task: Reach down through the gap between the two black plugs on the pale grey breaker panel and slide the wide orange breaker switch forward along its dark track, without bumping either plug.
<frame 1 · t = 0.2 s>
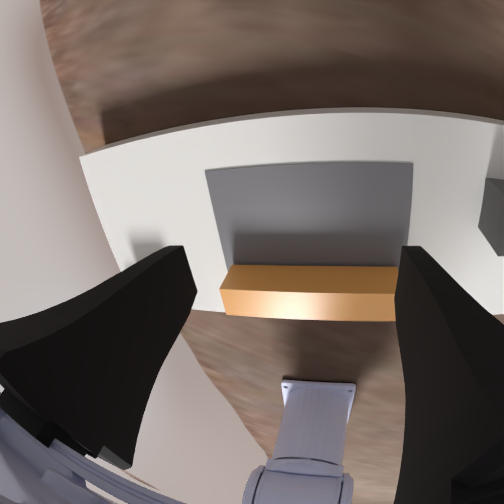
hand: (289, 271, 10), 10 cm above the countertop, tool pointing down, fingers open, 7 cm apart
plug 1: (501, 204, 12), point 3 cm above the countertop, touching breaker panel
breaker switch: (311, 292, 17), point 5 cm above the countertop, slide at 0.0 cm
breaker panel: (315, 210, 19), on the countertop
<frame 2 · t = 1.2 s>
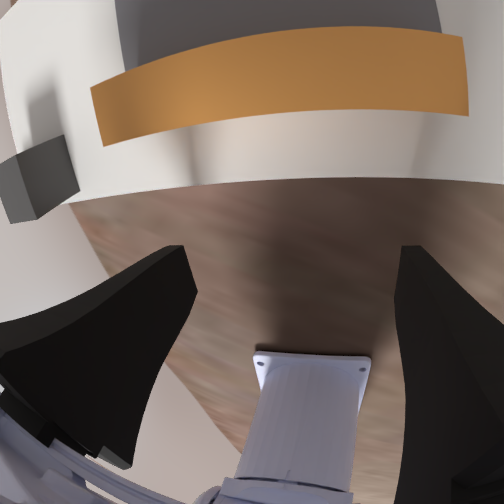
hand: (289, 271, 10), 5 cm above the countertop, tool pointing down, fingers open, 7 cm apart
breaker switch: (267, 75, 7), point 5 cm above the countertop, slide at 0.0 cm
breaker panel: (279, 13, 9), on the countertop
plug 2: (55, 168, 12), point 3 cm above the countertop, touching breaker panel
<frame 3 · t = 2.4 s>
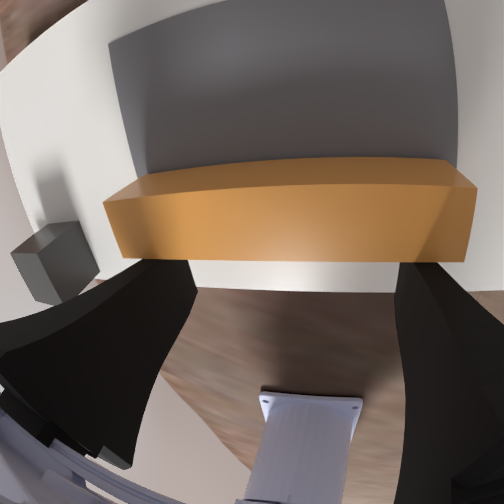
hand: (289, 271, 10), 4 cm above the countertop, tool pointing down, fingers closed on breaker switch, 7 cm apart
breaker switch: (279, 205, 8), point 5 cm above the countertop, slide at 0.7 cm, touching gripper
breaker panel: (291, 107, 11), on the countertop
plug 2: (72, 247, 14), point 3 cm above the countertop, touching breaker panel
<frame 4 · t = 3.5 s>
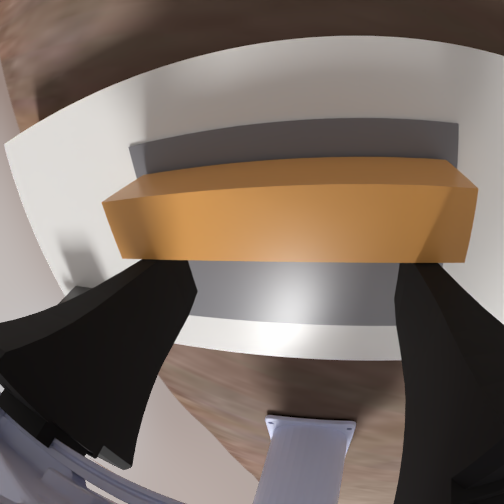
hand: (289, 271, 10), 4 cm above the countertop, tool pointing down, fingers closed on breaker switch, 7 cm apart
breaker switch: (279, 206, 8), point 4 cm above the countertop, slide at 4.9 cm, touching gripper
breaker panel: (302, 204, 13), on the countertop
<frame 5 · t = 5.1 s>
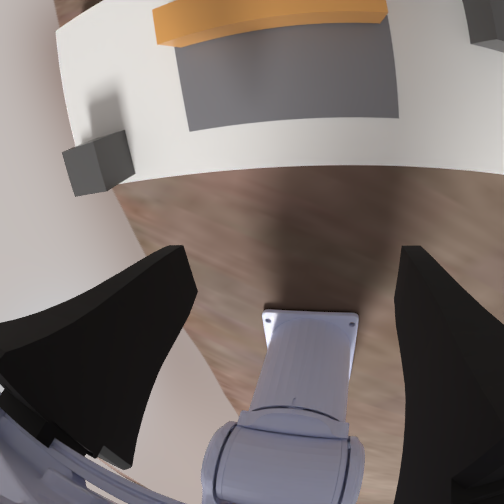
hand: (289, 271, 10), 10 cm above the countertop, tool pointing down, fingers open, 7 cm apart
plug 1: (489, 24, 7), point 3 cm above the countertop, touching breaker panel
breaker switch: (266, 4, 10), point 5 cm above the countertop, slide at 4.9 cm
breaker panel: (287, 50, 14), on the countertop
plug 2: (113, 155, 17), point 3 cm above the countertop, touching breaker panel
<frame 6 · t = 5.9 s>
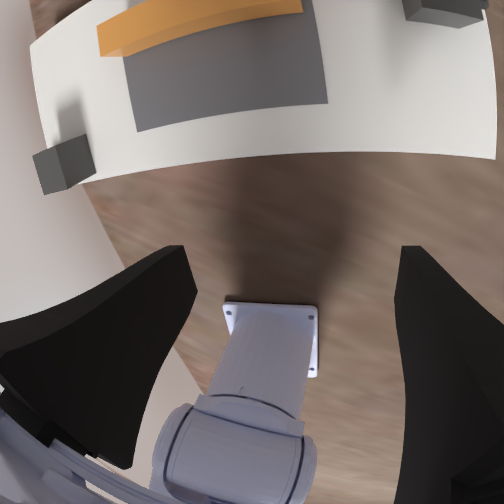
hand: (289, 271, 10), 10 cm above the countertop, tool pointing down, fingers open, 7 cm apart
breaker switch: (192, 9, 10), point 4 cm above the countertop, slide at 4.9 cm
breaker panel: (228, 50, 15), on the countertop
plug 2: (78, 157, 18), point 3 cm above the countertop, touching breaker panel
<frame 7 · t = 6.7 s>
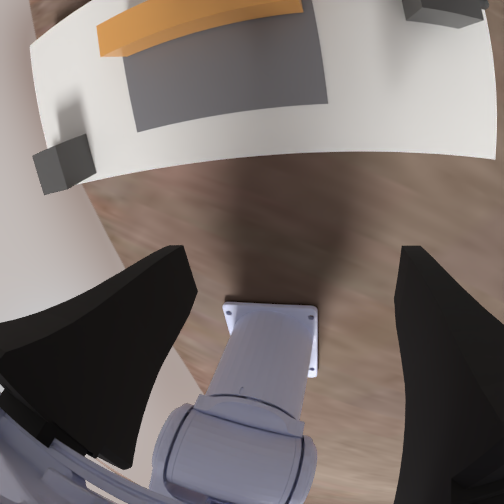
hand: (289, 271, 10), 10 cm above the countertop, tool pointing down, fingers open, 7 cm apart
breaker switch: (192, 9, 10), point 4 cm above the countertop, slide at 4.9 cm
breaker panel: (228, 50, 15), on the countertop
plug 2: (78, 157, 18), point 3 cm above the countertop, touching breaker panel
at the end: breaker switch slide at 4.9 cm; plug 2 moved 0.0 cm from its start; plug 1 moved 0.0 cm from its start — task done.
